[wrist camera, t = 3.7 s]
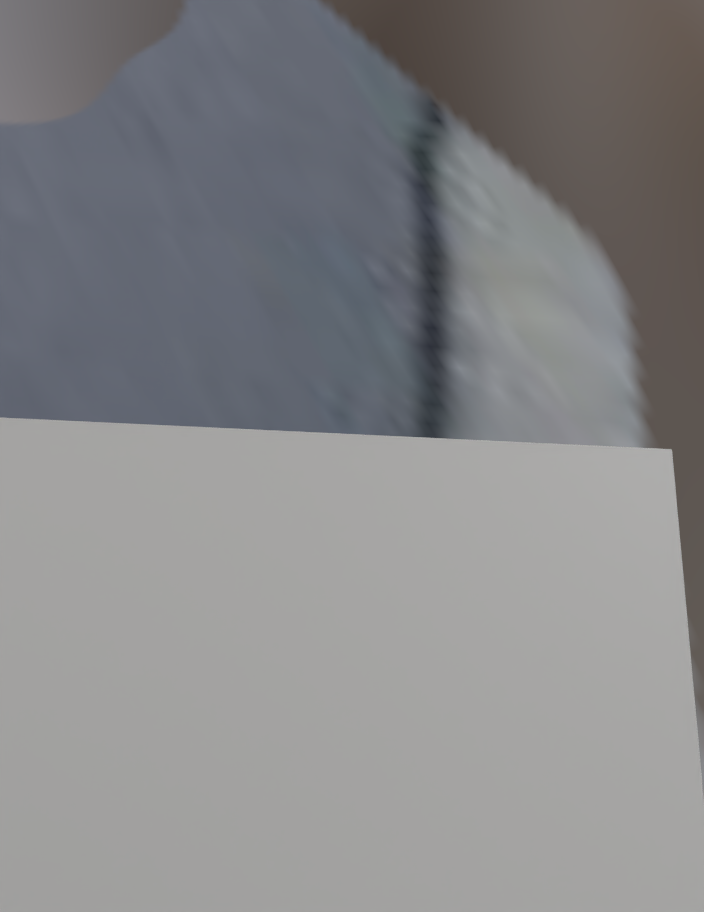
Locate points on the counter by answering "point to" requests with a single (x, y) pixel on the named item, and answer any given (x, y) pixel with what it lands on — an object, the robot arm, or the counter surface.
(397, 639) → the tea tin
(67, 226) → the counter surface
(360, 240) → the counter surface
